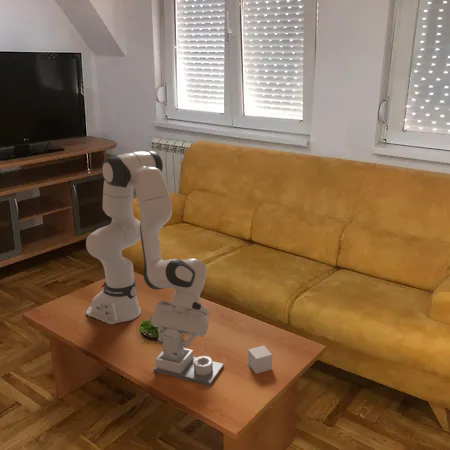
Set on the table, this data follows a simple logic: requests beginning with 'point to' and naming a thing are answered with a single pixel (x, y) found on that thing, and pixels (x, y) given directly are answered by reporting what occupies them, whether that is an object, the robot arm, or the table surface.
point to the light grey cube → (259, 359)
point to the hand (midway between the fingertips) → (172, 343)
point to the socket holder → (190, 368)
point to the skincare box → (173, 345)
